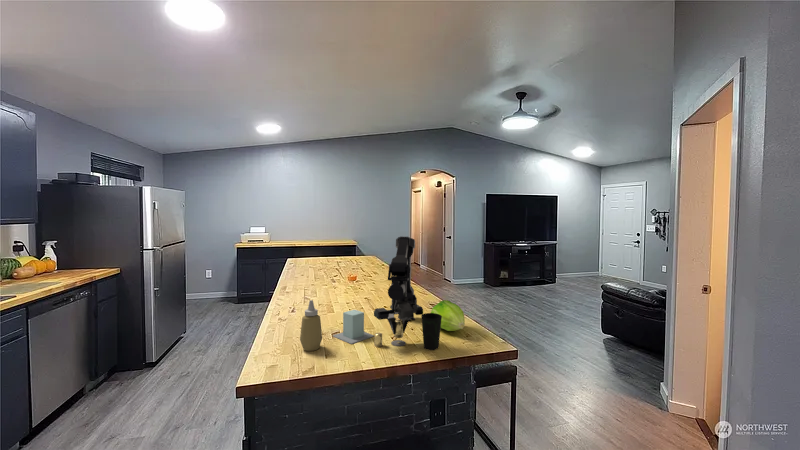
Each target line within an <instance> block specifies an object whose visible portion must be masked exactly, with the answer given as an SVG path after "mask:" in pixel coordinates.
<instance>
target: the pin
mask: <svg viewBox="0 0 800 450" xmlns="http://www.w3.org/2000/svg"><path fill="white" fill-rule="evenodd" d="M373 335H374V337H373V338H374V342H373V344H374V347H376V348H381V347H382V346H383V333H382V332H375V333H374V334H373Z"/></svg>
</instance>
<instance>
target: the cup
mask: <svg viewBox="0 0 800 450" xmlns="http://www.w3.org/2000/svg"><path fill="white" fill-rule="evenodd" d="M420 317H421V327H422V328H421V329H422V340H423V349H425V350H428V351H436V350H438V349H439V348H438V347H440V336H441V319H442V316H441V315H439V314H436V313H431V312H427V313H426V312H425V313H423V314H422V315H420Z"/></svg>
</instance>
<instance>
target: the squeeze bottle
mask: <svg viewBox="0 0 800 450" xmlns="http://www.w3.org/2000/svg"><path fill="white" fill-rule="evenodd" d="M314 304H315V303H314V300H312V299H310V300H309V301H308V307H307V309H305V310H304V315H303V316H302V318H301V326H300V336H299V341H300V344H301V346H302V349H303V350H304V351H306V352H313V351H317V350H319V349H320V346H321V344H322V340H323V331H322V330H323V329H322V321H321V316H320V315H319V314H318V311H319V310H318V308H317V309H316V307H315V305H314Z"/></svg>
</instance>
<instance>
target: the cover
mask: <svg viewBox="0 0 800 450" xmlns="http://www.w3.org/2000/svg"><path fill="white" fill-rule="evenodd" d="M342 332H343V336H346V337H348V338H350V339H355V338H358V337H361V336H364V332H365V312H364V311H360V310H357V309H351V310H347V311H344V312H343V313H342Z"/></svg>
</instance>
